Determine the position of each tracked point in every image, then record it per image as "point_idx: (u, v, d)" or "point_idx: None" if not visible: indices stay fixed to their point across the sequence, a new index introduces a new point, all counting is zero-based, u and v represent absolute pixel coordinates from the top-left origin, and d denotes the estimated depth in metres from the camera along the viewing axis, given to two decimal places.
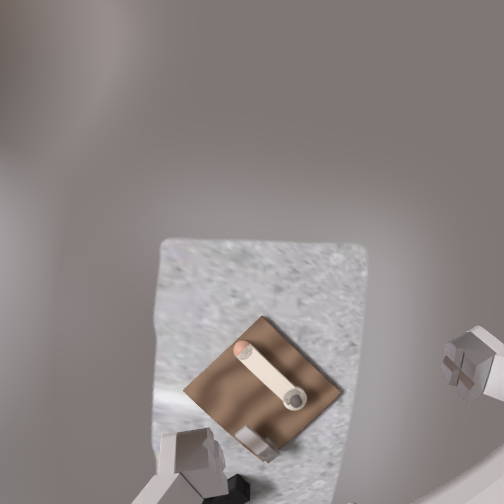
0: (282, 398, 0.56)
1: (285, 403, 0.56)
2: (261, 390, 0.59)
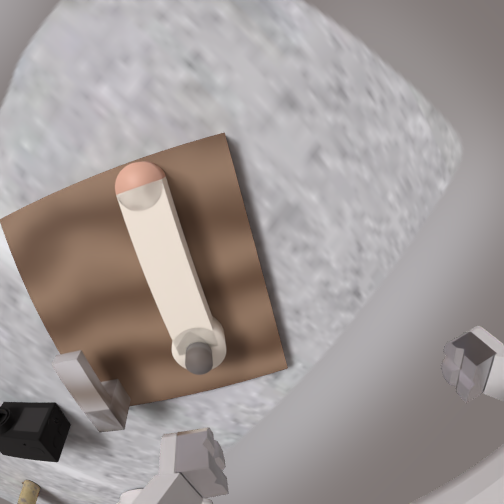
0: (174, 336, 0.25)
1: (175, 348, 0.25)
2: (140, 292, 0.26)
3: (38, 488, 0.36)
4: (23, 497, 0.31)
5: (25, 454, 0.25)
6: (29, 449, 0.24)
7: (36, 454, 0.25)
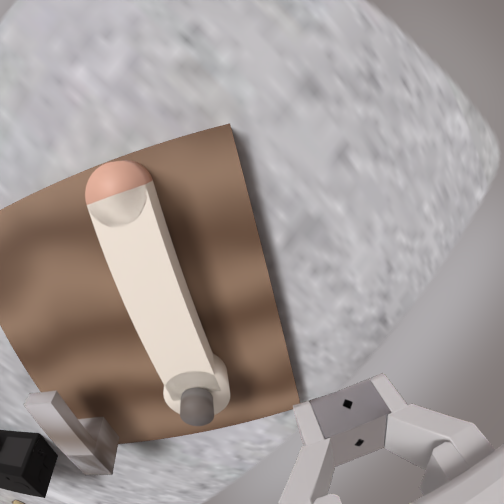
0: (166, 380, 0.19)
1: (168, 393, 0.20)
2: (124, 324, 0.21)
3: None
4: None
5: (10, 487, 0.19)
6: (13, 483, 0.19)
7: (21, 488, 0.19)
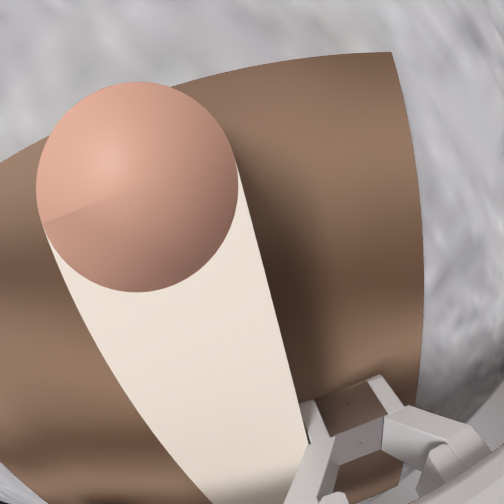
0: None
1: None
2: (155, 437, 0.10)
3: None
4: None
5: None
6: None
7: None
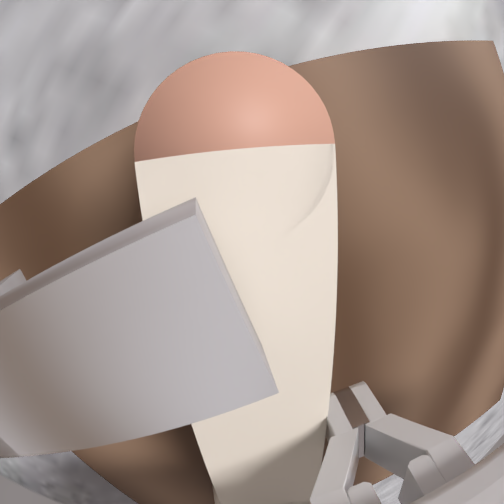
0: None
1: None
2: None
3: None
4: None
5: None
6: None
7: None
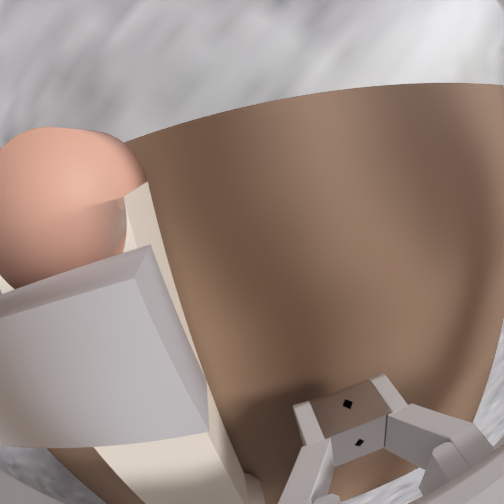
0: None
1: None
2: None
3: None
4: None
5: None
6: None
7: None
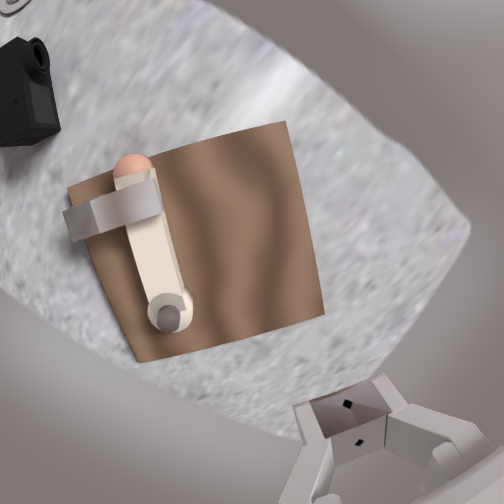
0: (150, 299, 0.30)
1: (150, 309, 0.31)
2: (210, 257, 0.33)
3: None
4: None
5: None
6: (9, 107, 0.20)
7: (3, 116, 0.20)
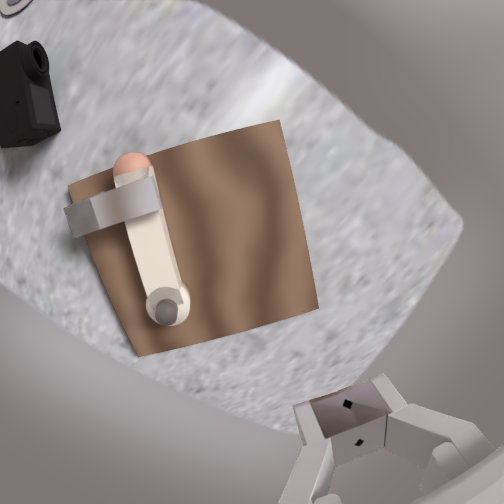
0: (148, 293, 0.31)
1: (149, 303, 0.31)
2: (206, 252, 0.34)
3: None
4: None
5: (0, 100, 0.20)
6: (10, 109, 0.21)
7: (5, 118, 0.21)
